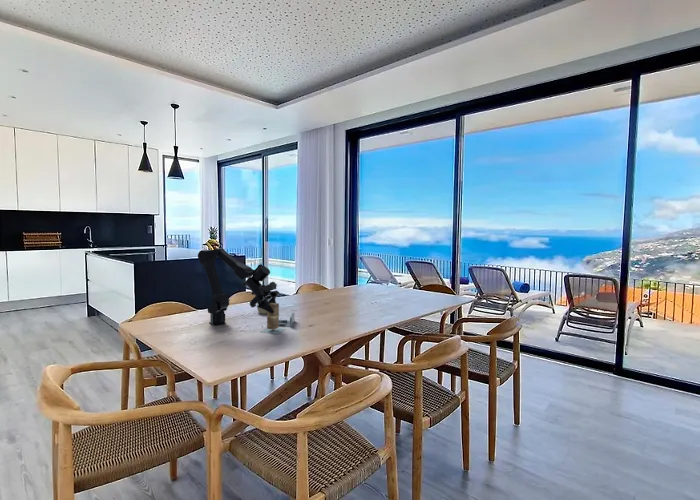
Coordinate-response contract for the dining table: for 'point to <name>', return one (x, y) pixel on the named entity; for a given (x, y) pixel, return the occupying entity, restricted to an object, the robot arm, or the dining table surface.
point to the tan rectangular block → (273, 316)
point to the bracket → (287, 322)
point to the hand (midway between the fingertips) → (275, 311)
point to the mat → (273, 330)
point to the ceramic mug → (261, 310)
